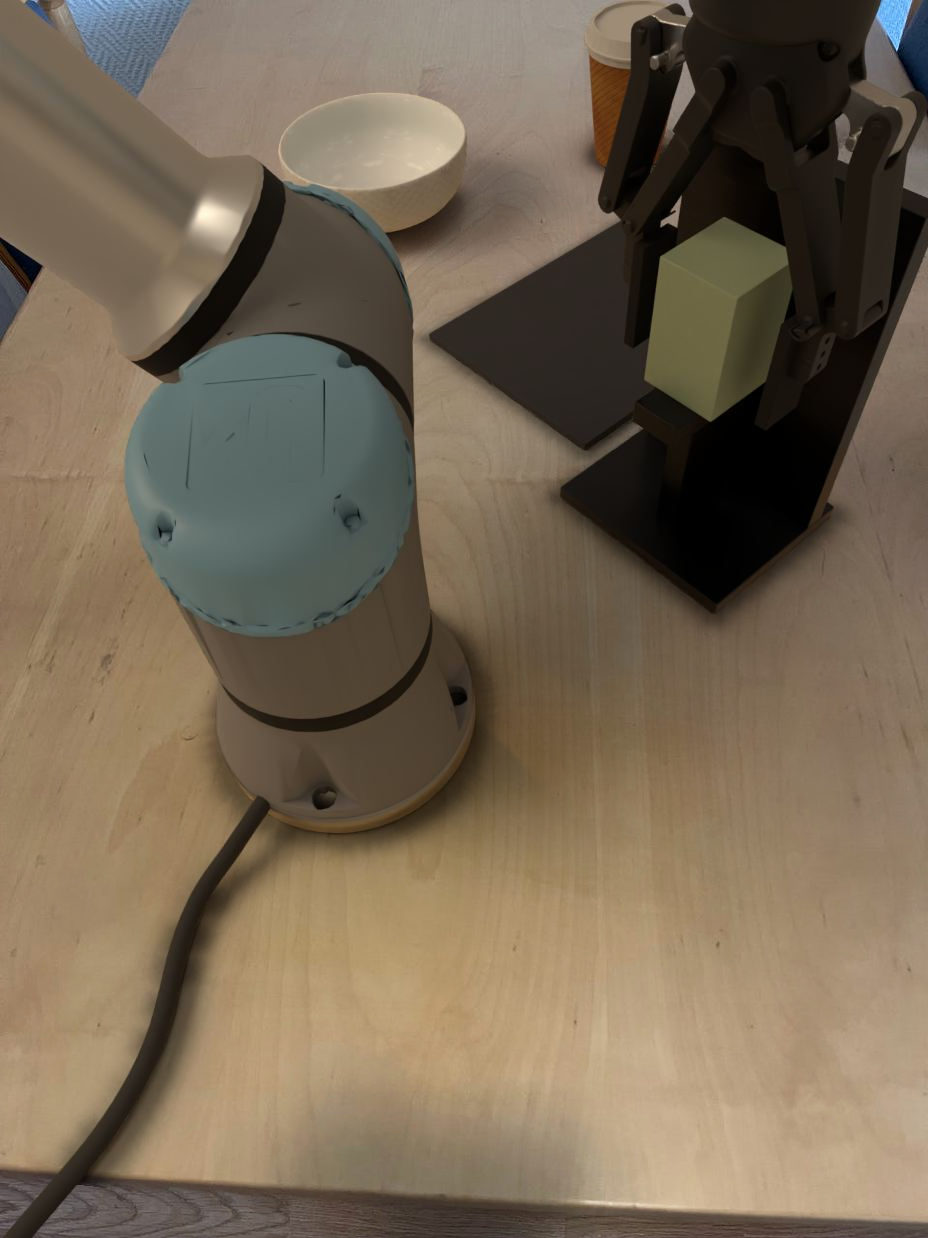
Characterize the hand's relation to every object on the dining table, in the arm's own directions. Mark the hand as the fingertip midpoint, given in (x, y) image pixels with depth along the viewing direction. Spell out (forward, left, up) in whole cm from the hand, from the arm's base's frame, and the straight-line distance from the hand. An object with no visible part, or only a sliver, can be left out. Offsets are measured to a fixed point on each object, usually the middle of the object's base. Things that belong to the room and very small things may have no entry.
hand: (706, 373), depth 52 cm
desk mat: (+12, +18, -12) cm, 25 cm away
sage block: (0, 0, 0) cm, 0 cm away
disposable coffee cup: (+32, +35, -13) cm, 49 cm away
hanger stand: (+1, 0, -12) cm, 13 cm away
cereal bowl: (+9, +45, -13) cm, 48 cm away
